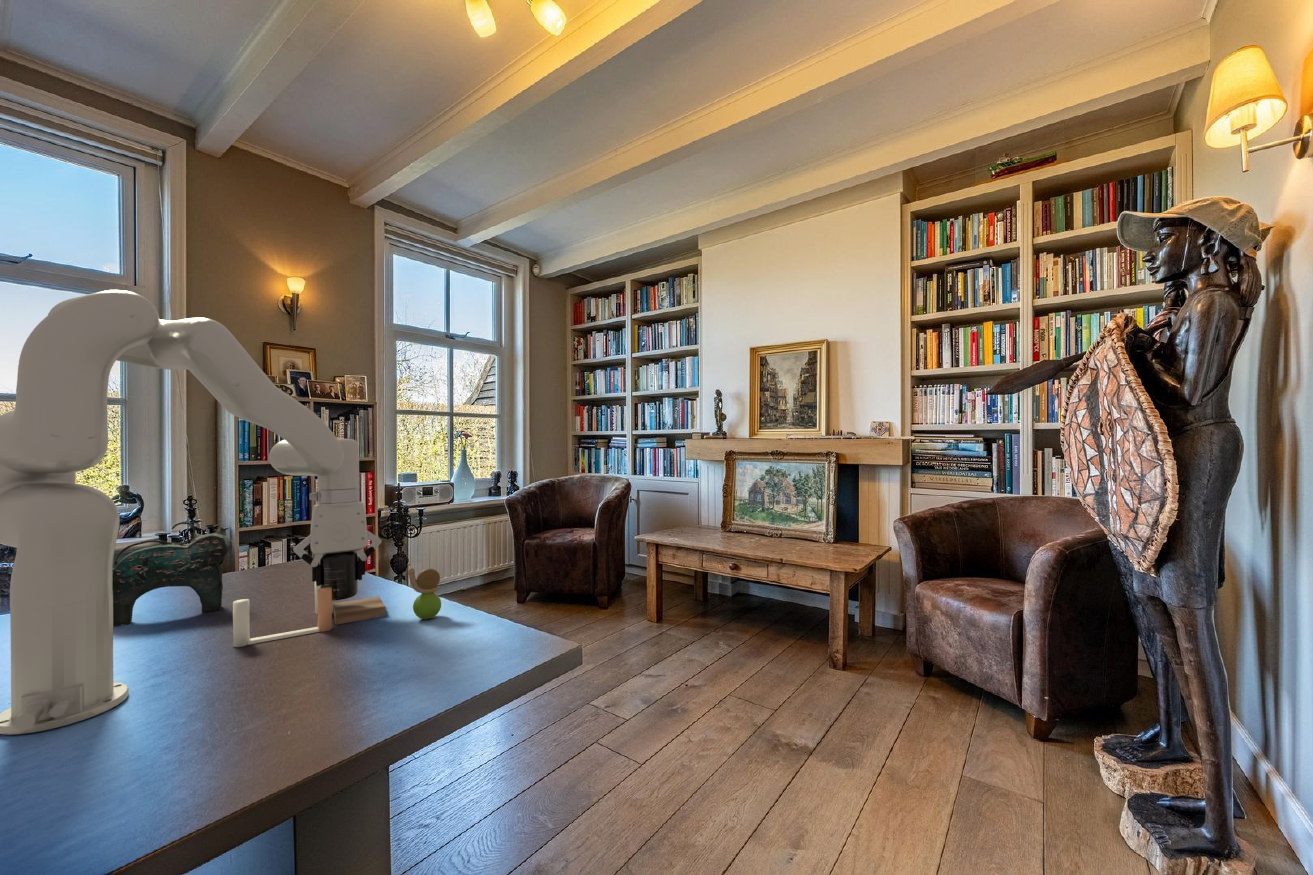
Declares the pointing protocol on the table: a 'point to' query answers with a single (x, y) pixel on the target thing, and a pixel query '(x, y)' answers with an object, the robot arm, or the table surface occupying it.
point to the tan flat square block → (358, 610)
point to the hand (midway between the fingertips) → (339, 580)
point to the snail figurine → (425, 592)
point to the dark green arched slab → (170, 571)
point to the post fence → (324, 624)
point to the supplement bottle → (340, 574)
